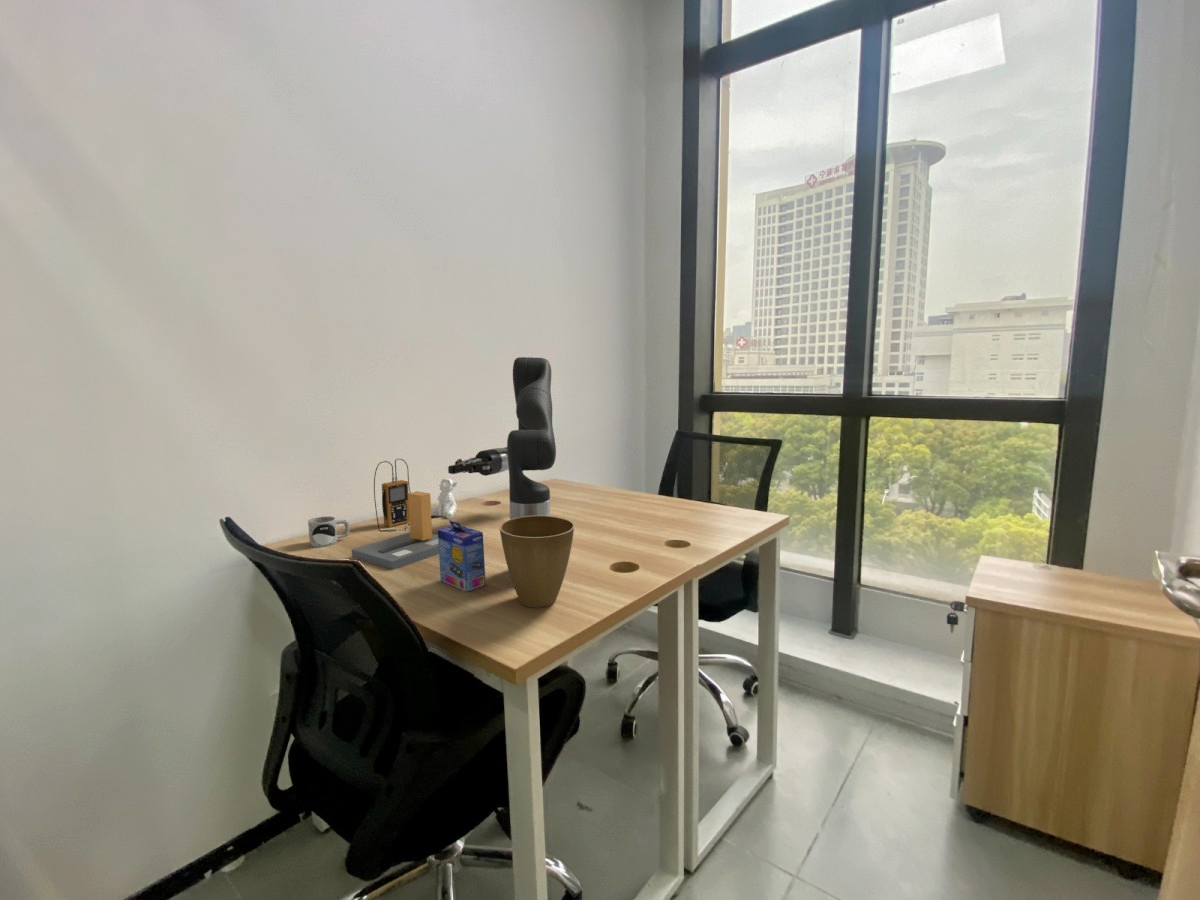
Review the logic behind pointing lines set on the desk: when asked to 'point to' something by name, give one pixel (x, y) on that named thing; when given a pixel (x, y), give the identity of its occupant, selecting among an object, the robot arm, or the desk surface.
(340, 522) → the mug
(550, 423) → the robot arm
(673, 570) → the desk surface
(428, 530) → the switch tab
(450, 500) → the white creature statuette
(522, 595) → the plant pot
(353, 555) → the switch panel
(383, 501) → the multimeter
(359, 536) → the desk surface
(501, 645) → the desk surface
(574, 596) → the desk surface
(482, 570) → the ink cartridge box
